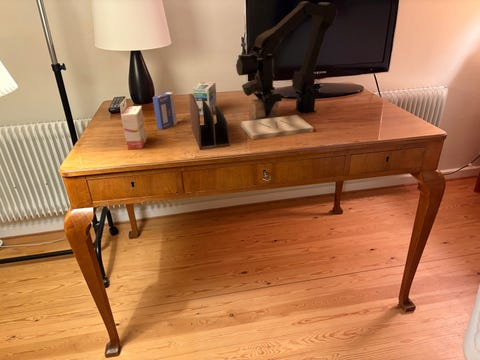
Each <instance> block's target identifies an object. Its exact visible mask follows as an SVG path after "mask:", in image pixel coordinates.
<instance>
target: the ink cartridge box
mask: <svg viewBox="0 0 480 360" xmlns="http://www.w3.org/2000/svg"><path fill="white" fill-rule="evenodd" d="M119 107H120V109H119V110H120V116H121V123H122V127H123V133H124V135H125V136H124V137H125V142H126V146H127V150H141V149H144V145H145V144H146V141H147V134H146V129H145V128H146V127H145V123H144V115H143V110H142V105H133V106H132V105H131V106H128V103H127V97H125V98H124V99H123V100H122V102H121V103H120V104H119Z"/></svg>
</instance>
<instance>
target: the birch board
mask: <svg viewBox="0 0 480 360" xmlns="http://www.w3.org/2000/svg"><path fill="white" fill-rule="evenodd" d="M240 126H241V128H242V129H243V130H244V131H245V132H246V133H247V135H248V136H249V137H250V138H251V140H258V139H259V140H262V139H267V138H268V139H269V138H273V137H275V138H276V137H282V136H291V135H296V134H304V133H313V132H314V127H313V126H312V125H311V124H310V123H308V122H307V121H306V120H304V119H303V118H302V117H300V116H299V115H297V114H294V115H293V114H292V115H285V116H284V115H283V116H278V117H276V118H267V119H259V120H254V119H253V120H252V119H251V120H245V121H244V120H243V121H240Z"/></svg>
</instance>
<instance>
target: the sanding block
mask: <svg viewBox="0 0 480 360" xmlns="http://www.w3.org/2000/svg"><path fill="white" fill-rule="evenodd" d="M276 117H279V102H276V103H275V104H274V106H273V108H272V110H271V112H270V114H269V116H266V115H265V109H264V103H263V102H262V101H261V100H260V99H258V98H257V99H254V98H253V99H251V118H252V119H253V120H259V119H267V118H276Z"/></svg>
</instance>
